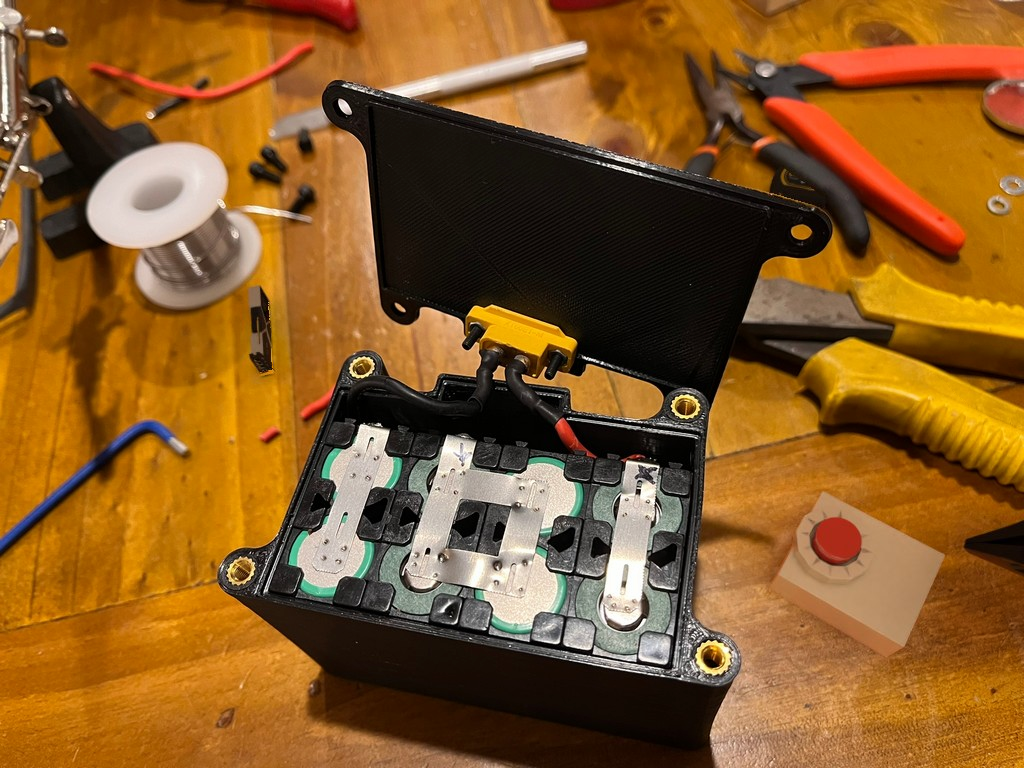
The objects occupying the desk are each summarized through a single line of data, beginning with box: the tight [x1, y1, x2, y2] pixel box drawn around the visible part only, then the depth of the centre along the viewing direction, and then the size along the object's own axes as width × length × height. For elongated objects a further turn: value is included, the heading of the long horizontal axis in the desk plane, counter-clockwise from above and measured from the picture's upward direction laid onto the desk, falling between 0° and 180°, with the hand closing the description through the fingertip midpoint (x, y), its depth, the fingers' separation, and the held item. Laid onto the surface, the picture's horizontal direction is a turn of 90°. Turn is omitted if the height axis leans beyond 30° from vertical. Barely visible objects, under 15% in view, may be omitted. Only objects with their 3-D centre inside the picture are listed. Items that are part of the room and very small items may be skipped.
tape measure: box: [769, 166, 826, 211], centre depth 100 cm, size 7×7×4 cm
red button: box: [812, 517, 862, 564], centre depth 72 cm, size 4×4×2 cm
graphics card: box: [248, 284, 275, 373], centre depth 98 cm, size 12×3×5 cm, turn 12°
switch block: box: [768, 491, 946, 658], centre depth 74 cm, size 12×10×7 cm
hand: (966, 546), depth 65 cm, fingers closed
